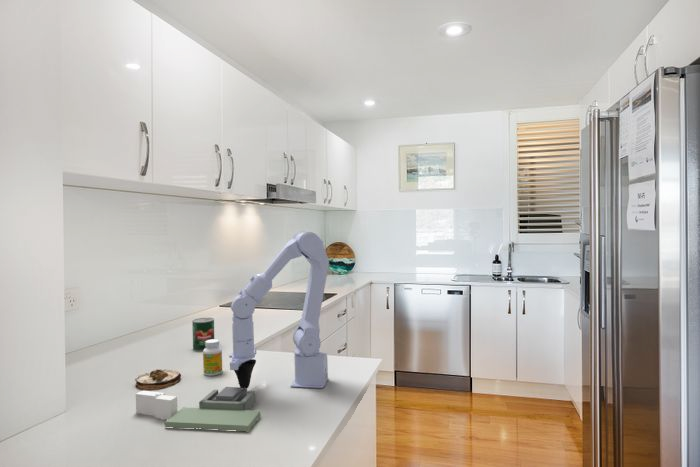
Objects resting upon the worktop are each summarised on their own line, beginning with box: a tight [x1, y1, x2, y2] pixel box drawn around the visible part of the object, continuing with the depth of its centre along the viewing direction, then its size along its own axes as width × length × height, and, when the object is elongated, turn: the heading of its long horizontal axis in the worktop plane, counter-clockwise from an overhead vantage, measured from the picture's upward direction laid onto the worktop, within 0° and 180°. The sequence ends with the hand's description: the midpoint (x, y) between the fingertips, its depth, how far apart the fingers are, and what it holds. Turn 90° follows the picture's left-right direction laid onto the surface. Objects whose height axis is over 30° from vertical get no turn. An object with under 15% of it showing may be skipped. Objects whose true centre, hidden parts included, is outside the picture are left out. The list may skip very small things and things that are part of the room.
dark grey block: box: [212, 386, 248, 402], centre depth 114 cm, size 6×8×4 cm
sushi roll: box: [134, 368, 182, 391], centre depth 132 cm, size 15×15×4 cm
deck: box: [164, 389, 261, 433], centre depth 109 cm, size 20×16×3 cm
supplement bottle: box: [202, 338, 223, 377], centre depth 140 cm, size 6×6×10 cm
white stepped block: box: [135, 390, 179, 420], centre depth 109 cm, size 15×11×6 cm
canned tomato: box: [191, 317, 215, 353], centre depth 168 cm, size 8×8×11 cm
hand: (244, 387), depth 123 cm, fingers closed
